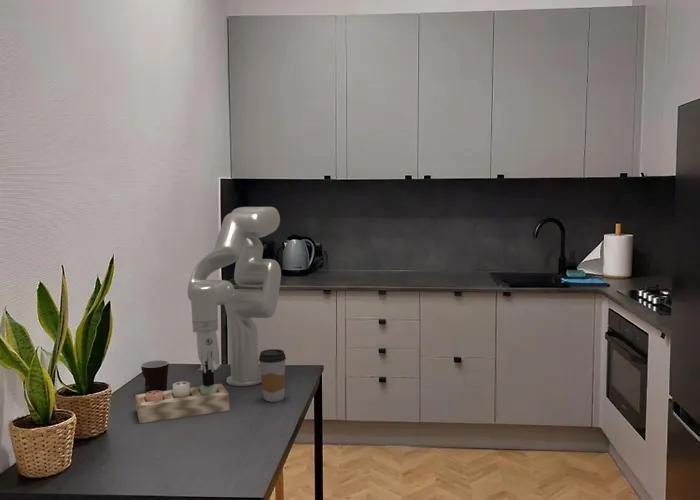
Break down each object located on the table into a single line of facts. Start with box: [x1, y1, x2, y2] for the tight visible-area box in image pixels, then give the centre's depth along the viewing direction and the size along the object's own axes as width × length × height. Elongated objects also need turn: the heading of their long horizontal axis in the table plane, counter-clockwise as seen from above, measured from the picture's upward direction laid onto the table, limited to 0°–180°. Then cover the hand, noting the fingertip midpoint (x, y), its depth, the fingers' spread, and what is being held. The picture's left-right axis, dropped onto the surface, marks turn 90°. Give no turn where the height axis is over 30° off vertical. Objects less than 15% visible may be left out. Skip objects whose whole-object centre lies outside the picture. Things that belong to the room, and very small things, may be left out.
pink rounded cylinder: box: [144, 390, 163, 402], centre depth 219 cm, size 5×5×5 cm
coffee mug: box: [140, 359, 169, 393], centre depth 240 cm, size 12×9×10 cm
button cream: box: [172, 380, 191, 398], centre depth 221 cm, size 5×5×5 cm
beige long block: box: [134, 383, 230, 424], centre depth 222 cm, size 26×12×5 cm, turn 110°
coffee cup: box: [258, 348, 287, 403], centre depth 230 cm, size 8×8×15 cm
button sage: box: [200, 383, 217, 395], centre depth 224 cm, size 5×5×5 cm
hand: (208, 384), depth 224 cm, fingers closed
